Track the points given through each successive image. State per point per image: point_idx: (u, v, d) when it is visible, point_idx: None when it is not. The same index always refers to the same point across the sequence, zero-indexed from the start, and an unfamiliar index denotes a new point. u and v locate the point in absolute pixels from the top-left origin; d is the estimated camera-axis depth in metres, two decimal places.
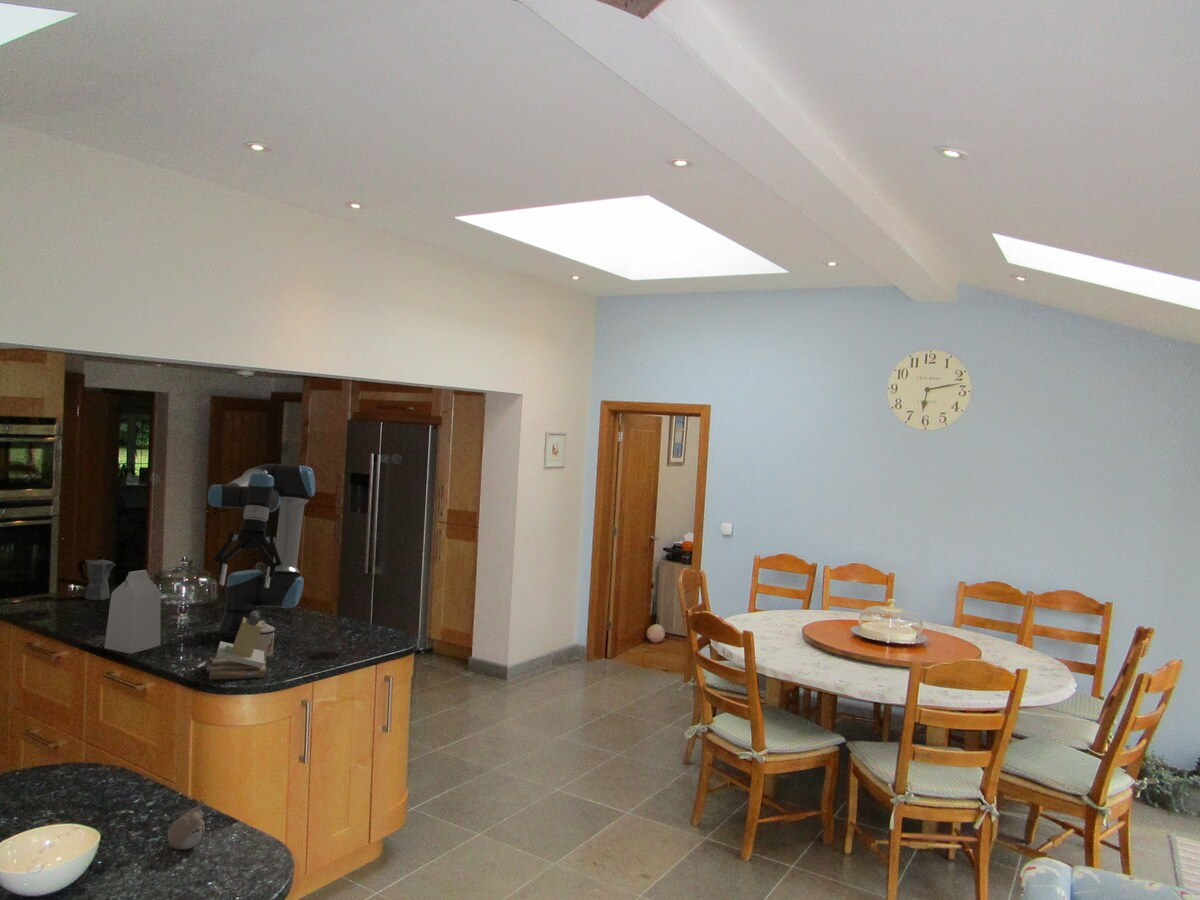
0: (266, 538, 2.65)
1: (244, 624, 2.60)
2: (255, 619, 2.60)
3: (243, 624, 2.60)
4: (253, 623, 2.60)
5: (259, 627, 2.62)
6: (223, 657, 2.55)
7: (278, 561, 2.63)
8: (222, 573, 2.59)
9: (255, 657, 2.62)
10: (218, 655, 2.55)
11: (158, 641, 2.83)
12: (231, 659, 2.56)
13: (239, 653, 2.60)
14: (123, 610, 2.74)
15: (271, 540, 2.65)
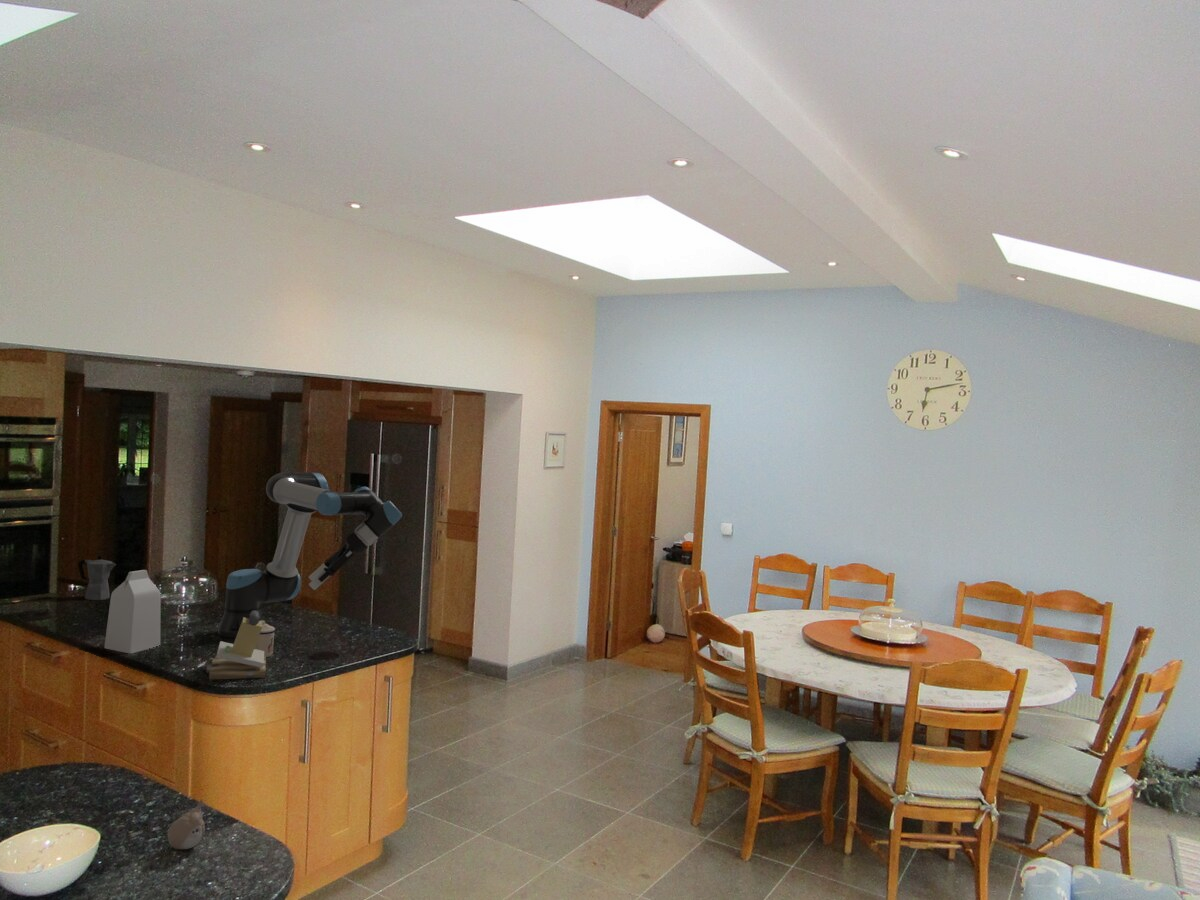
0: None
1: (244, 624, 2.60)
2: (255, 619, 2.60)
3: (243, 624, 2.60)
4: (253, 623, 2.60)
5: (259, 627, 2.62)
6: (223, 657, 2.55)
7: None
8: (322, 582, 2.65)
9: (255, 657, 2.62)
10: (218, 655, 2.55)
11: (158, 641, 2.83)
12: (231, 659, 2.56)
13: (239, 653, 2.60)
14: (123, 610, 2.74)
15: None
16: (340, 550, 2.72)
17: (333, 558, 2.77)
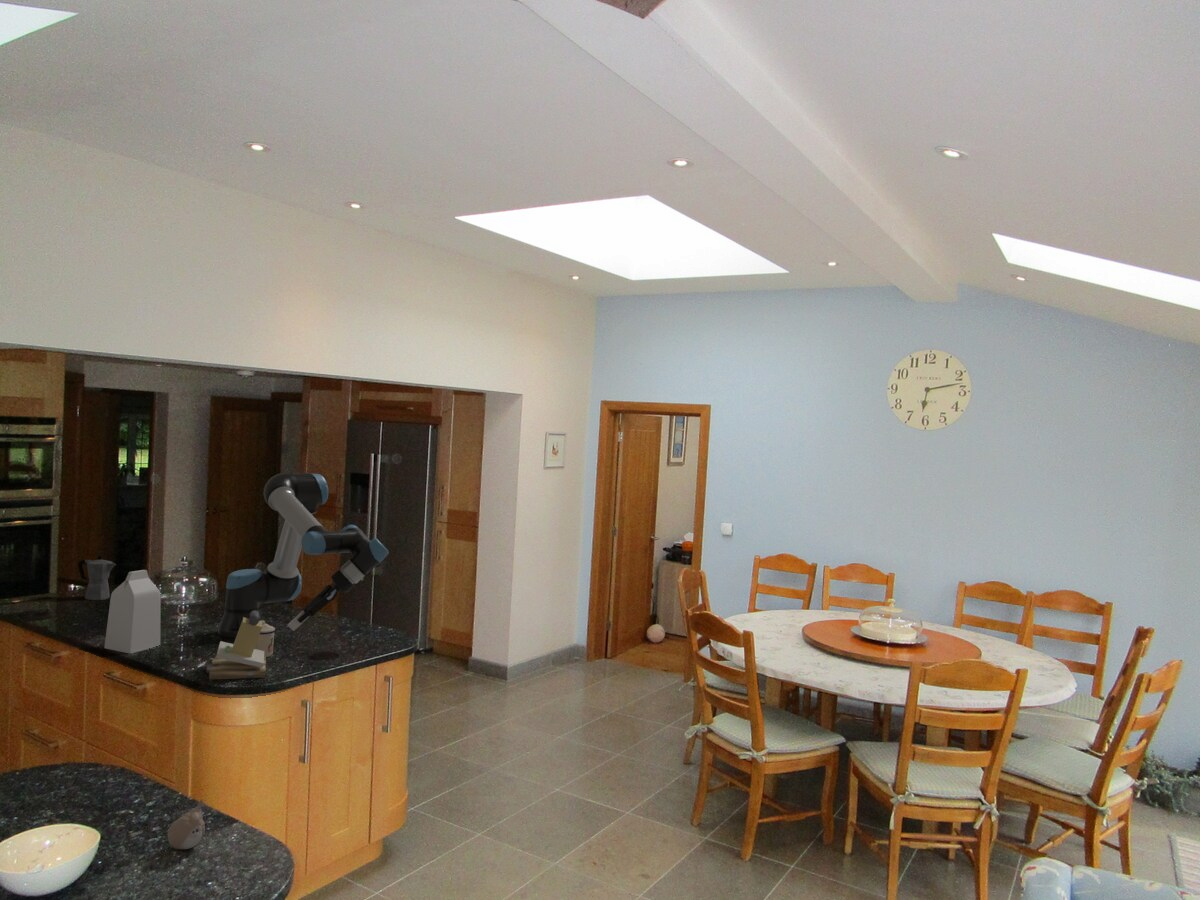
0: None
1: (244, 624, 2.60)
2: (255, 619, 2.60)
3: (243, 624, 2.60)
4: (253, 623, 2.60)
5: (259, 627, 2.62)
6: (223, 657, 2.55)
7: None
8: (301, 623, 2.68)
9: (255, 657, 2.62)
10: (218, 655, 2.55)
11: (158, 641, 2.83)
12: (231, 659, 2.56)
13: (239, 653, 2.60)
14: (123, 610, 2.74)
15: None
16: (326, 588, 2.70)
17: None
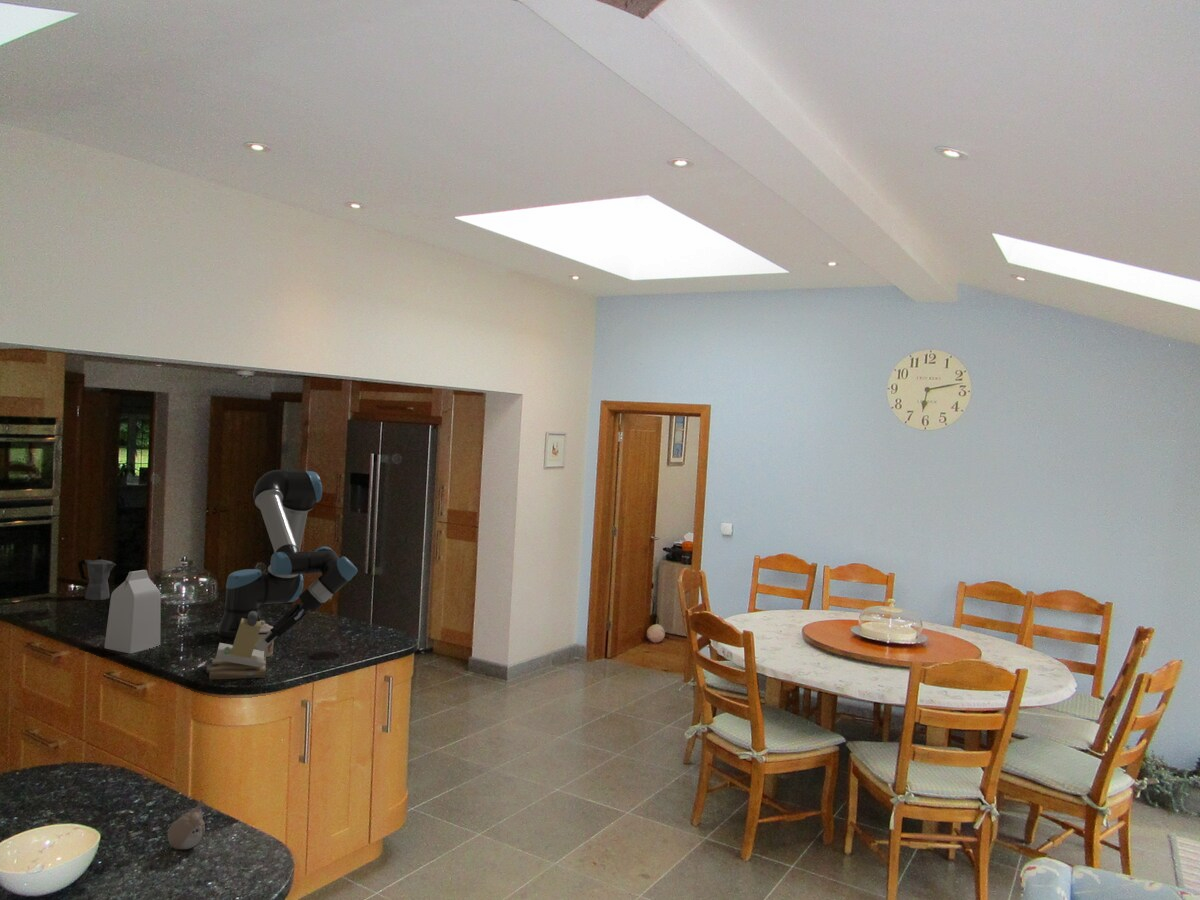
0: None
1: (242, 625, 2.60)
2: (253, 620, 2.60)
3: (241, 625, 2.60)
4: (251, 623, 2.60)
5: (257, 627, 2.62)
6: (222, 658, 2.55)
7: None
8: (269, 643, 2.66)
9: (255, 658, 2.62)
10: (217, 657, 2.54)
11: (158, 641, 2.83)
12: (231, 660, 2.56)
13: (238, 654, 2.60)
14: (123, 610, 2.74)
15: None
16: (294, 608, 2.68)
17: (284, 620, 2.68)
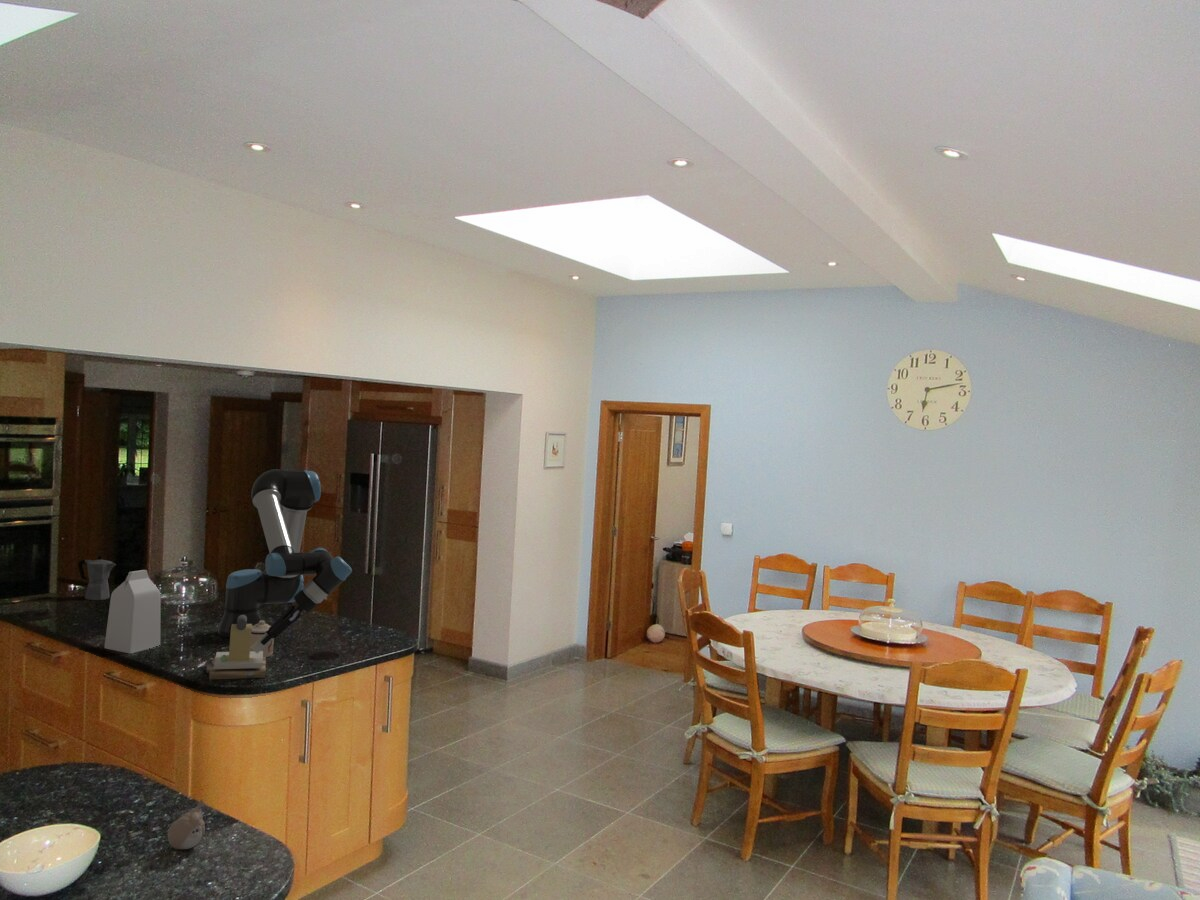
0: None
1: (233, 631, 2.59)
2: (242, 623, 2.59)
3: (232, 631, 2.59)
4: (241, 627, 2.59)
5: (248, 630, 2.61)
6: (220, 667, 2.55)
7: None
8: (265, 645, 2.65)
9: (253, 660, 2.62)
10: (215, 666, 2.54)
11: (158, 641, 2.83)
12: (229, 667, 2.56)
13: (236, 659, 2.60)
14: (123, 610, 2.74)
15: None
16: (289, 609, 2.67)
17: (280, 621, 2.68)
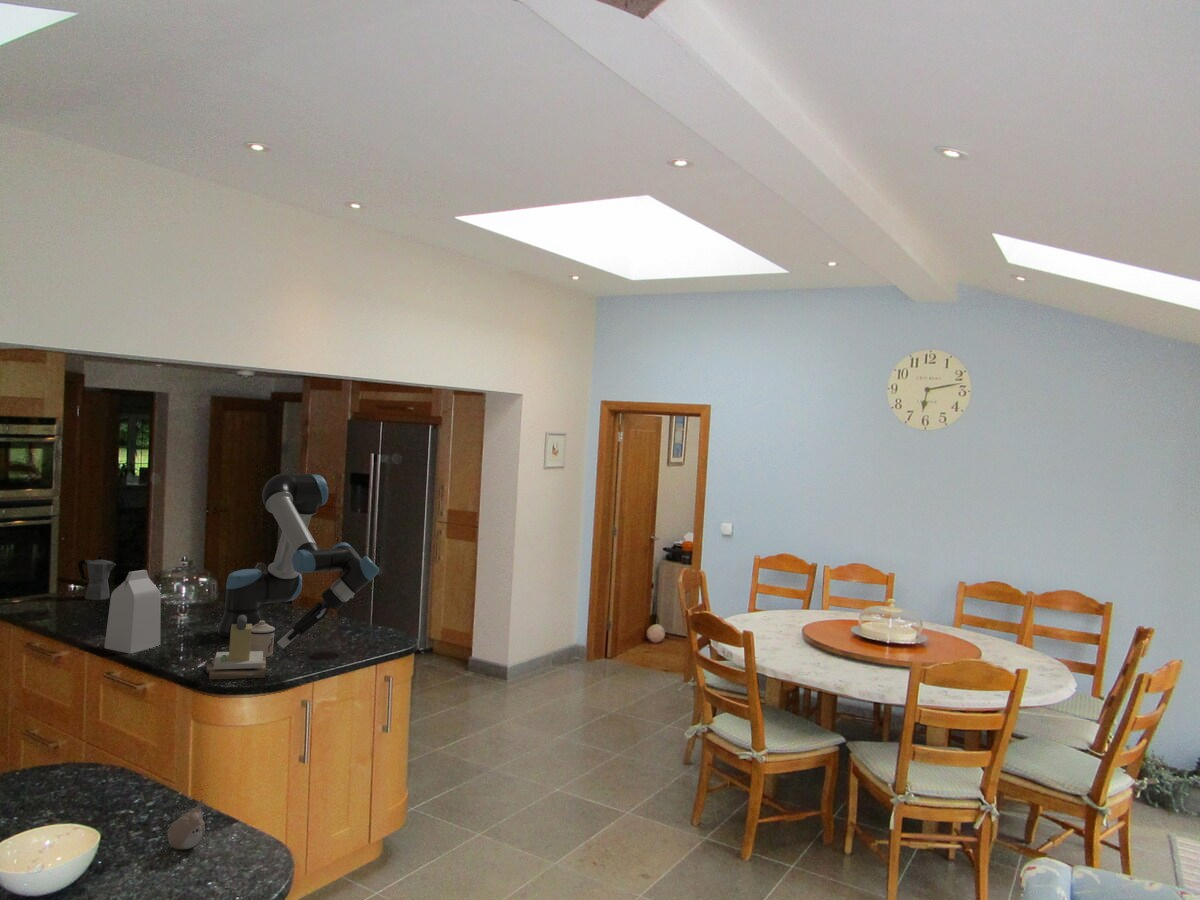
0: None
1: (233, 631, 2.59)
2: (242, 623, 2.59)
3: (232, 631, 2.59)
4: (241, 627, 2.59)
5: (248, 630, 2.61)
6: (220, 667, 2.55)
7: None
8: (291, 641, 2.69)
9: (253, 660, 2.62)
10: (215, 666, 2.54)
11: (158, 641, 2.83)
12: (229, 667, 2.56)
13: (236, 659, 2.60)
14: (123, 610, 2.74)
15: None
16: (316, 606, 2.70)
17: (307, 618, 2.71)
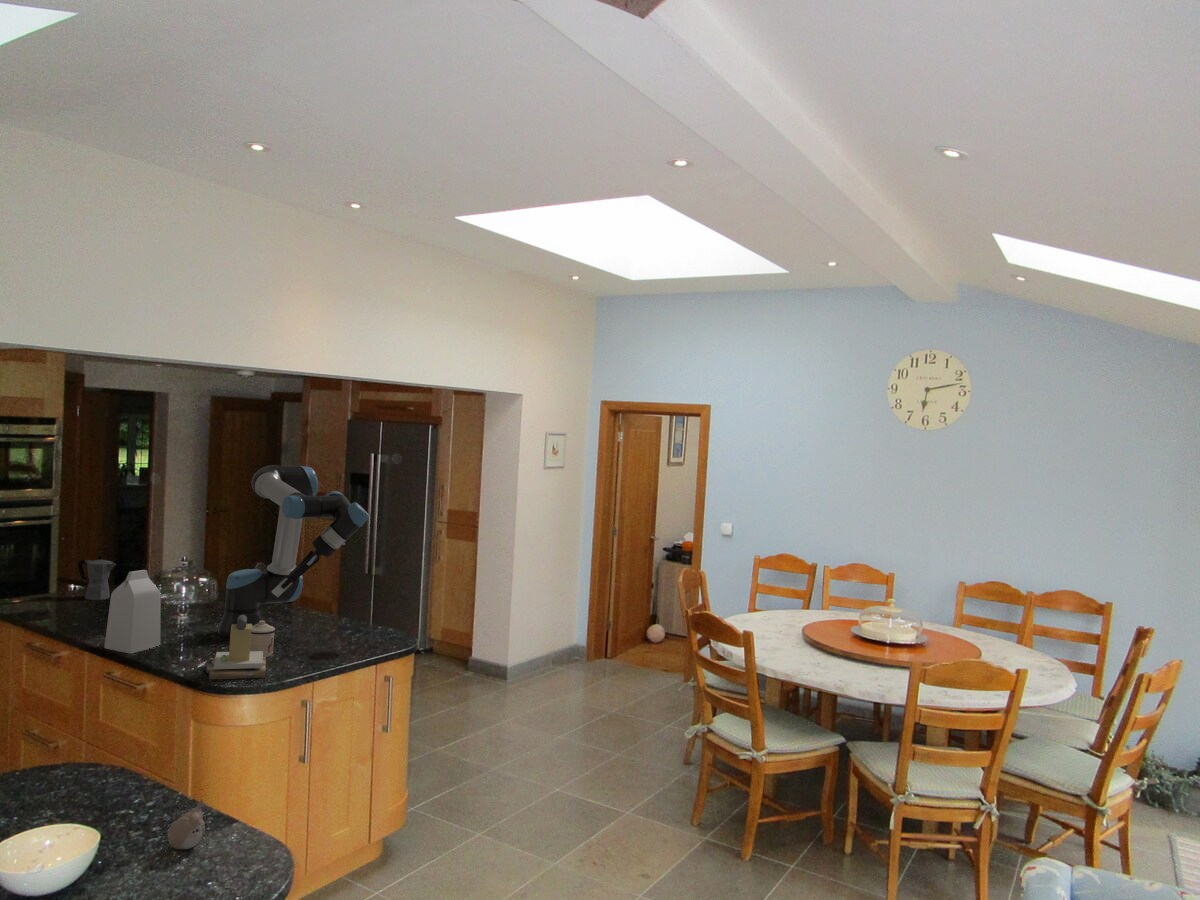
0: None
1: (233, 631, 2.59)
2: (242, 623, 2.59)
3: (232, 631, 2.59)
4: (241, 627, 2.59)
5: (248, 630, 2.61)
6: (220, 667, 2.55)
7: None
8: (285, 589, 2.69)
9: (253, 660, 2.62)
10: (215, 666, 2.54)
11: (158, 641, 2.83)
12: (229, 667, 2.56)
13: (236, 659, 2.60)
14: (123, 610, 2.74)
15: None
16: None
17: (299, 566, 2.71)
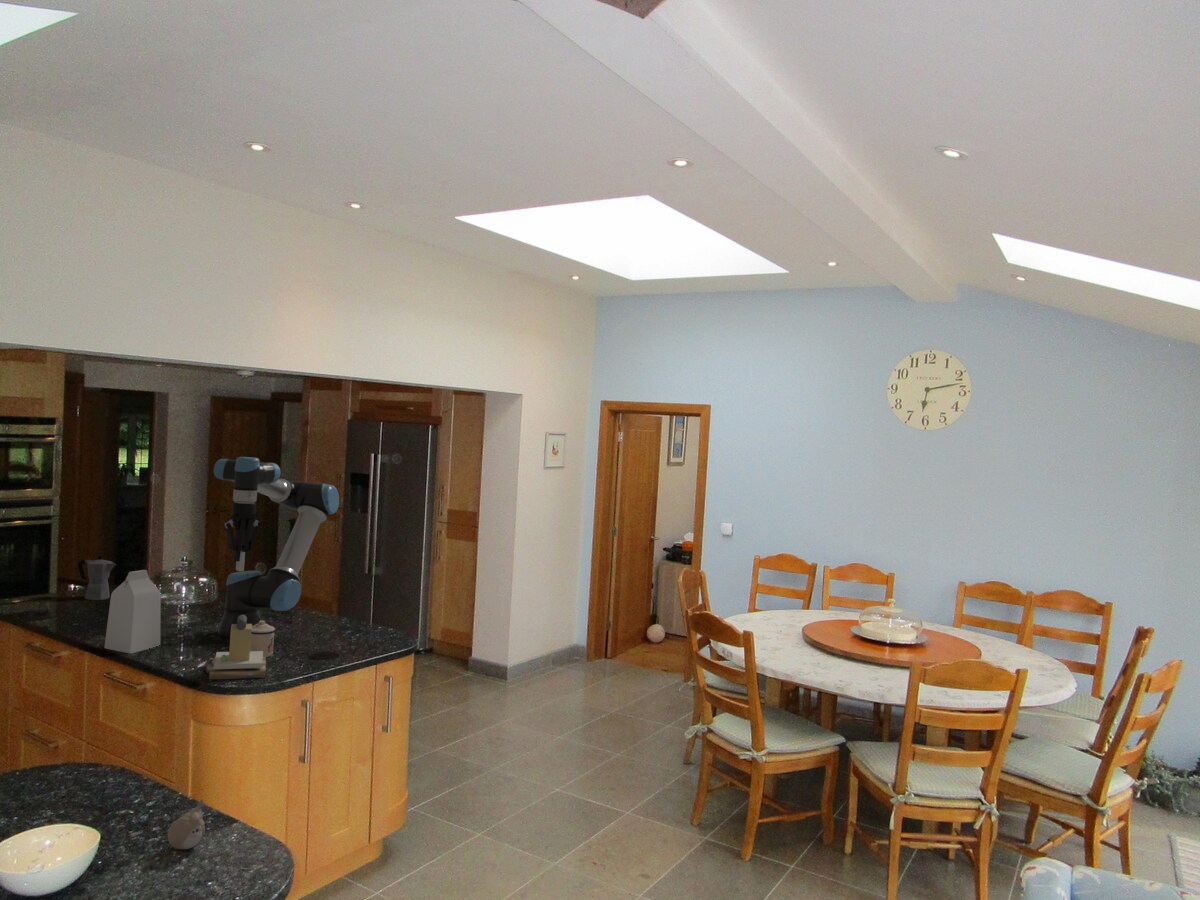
0: (255, 521, 2.85)
1: (233, 631, 2.59)
2: (242, 623, 2.59)
3: (232, 631, 2.59)
4: (241, 627, 2.59)
5: (248, 630, 2.61)
6: (220, 667, 2.55)
7: (252, 546, 2.84)
8: (241, 561, 2.81)
9: (253, 660, 2.62)
10: (215, 666, 2.54)
11: (158, 641, 2.83)
12: (229, 667, 2.56)
13: (236, 659, 2.60)
14: (123, 610, 2.74)
15: (258, 526, 2.85)
16: None
17: (243, 536, 2.83)
